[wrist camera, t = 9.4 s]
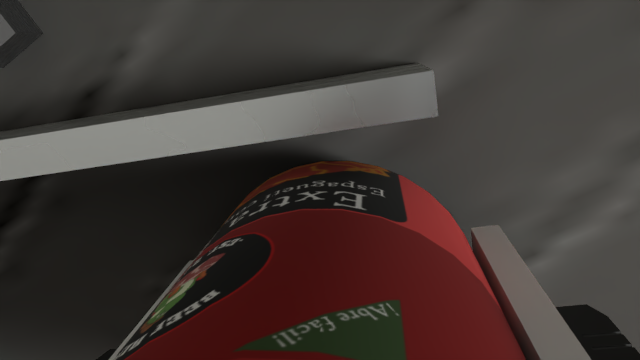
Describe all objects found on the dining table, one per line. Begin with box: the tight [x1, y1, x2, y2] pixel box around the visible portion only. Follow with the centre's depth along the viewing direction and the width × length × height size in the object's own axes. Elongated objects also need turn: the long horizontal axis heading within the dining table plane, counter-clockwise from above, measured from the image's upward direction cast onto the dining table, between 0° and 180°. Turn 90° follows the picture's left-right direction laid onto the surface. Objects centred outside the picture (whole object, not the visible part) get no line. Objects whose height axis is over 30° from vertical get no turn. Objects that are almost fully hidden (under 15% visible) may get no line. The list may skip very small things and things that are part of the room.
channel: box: [0, 63, 438, 181], centre depth 14 cm, size 12×19×5 cm, turn 99°
